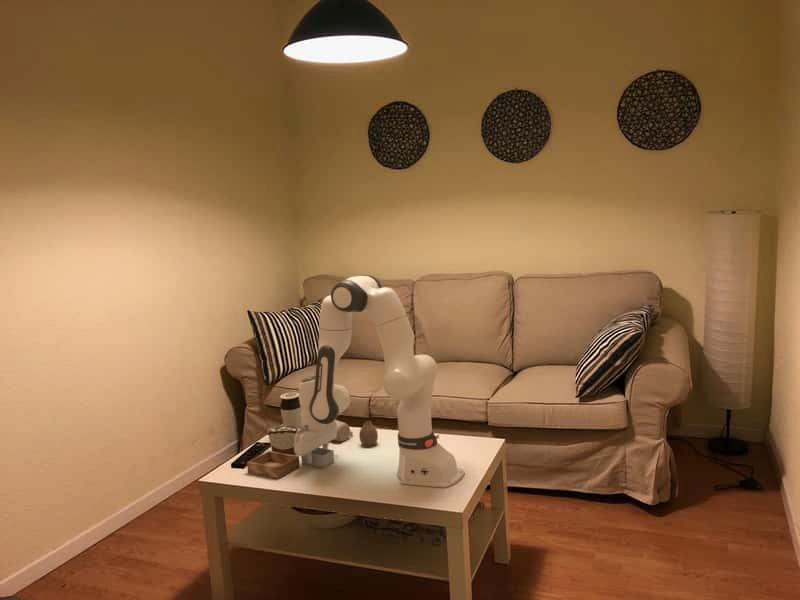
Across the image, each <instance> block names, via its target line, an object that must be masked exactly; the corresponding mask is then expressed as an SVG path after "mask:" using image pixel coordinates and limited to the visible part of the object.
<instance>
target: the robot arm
mask: <svg viewBox="0 0 800 600" xmlns="http://www.w3.org/2000/svg"><path fill="white" fill-rule="evenodd" d="M363 311H366V312H368V313H369V314H370V317H371V319H372V322H373V325H374V327H375V330H376V333H377V336H378V339H379V342H380V345H381V347H382V351H383V359H384V376H383V380H382V385H383V386H382V387H383V389H384V392H385V393H386V395H388V396H389V398H392V399H394V400H399V401H400V402H399V404H398V407H397V412H396V415H397V429H398V432H397V445H398V448H399V453H398V455H399V457H398V467H397V472H396V476H397V478H399V479H400V482H401V484H402V485H403V484H404V485H412V486H422V487H423V486H424V487H435V488H448V487H451V486H453V485H454V484H456V483H458V482H459V481H460V480H461V479H463V477H464V476H465V470H464V469H463V468H461V467H458V466H457V462H456V457H455V456H454V454H452V453H451V452H450V451H448V450H447V449H446V448H445V447H443V446H442V445H441V444H440V443H439V442H438V439H439V438H440V433H439V434H437V435H435V433H434V430H433V428H432V425H433V424H432V411H431V410H432V401H433V400H432V399H433V392H434V385H435V379H436V377H437V374H438V364H437V362H436V360H435V359H434V358H433V357H431V356H430V355H428V354H416V355H415V352H414V351H415V350H414V342H415V334H414V332H413V328H412V326H411V323H410V321H409V318H408V315H407V313H406V310H405V308H404V305H403V303H402V301H401V299H400V297H399V296H398V294H397V292H396V291H395V290H394V289H393V288H391V287H387V286H385V287H383V286H382V284H381V281H380V280H379V279H378V278H376V277H375V276H373V275H370V274H362V275H357V276H351V277H347V278H346V279H342V280H340V281H338V282H337V283H336V284H335V285H334V286H333V287H332V290H331V291H330V295H327V296H326V297H324V298H323V300H322V302H321V307H320V313H319V322H318V323H319V324H318V327H319V328H318V330H319V331H318V334H319V335H318V348H317V349H318V350H317V355H316V356H317V357H316V362H315V363H316V364H315V375H311V376H308V377H305V378H303V379H302V380H301V381H300V382H299V385H298V393H299V401H300V405H301V421H302V428H300V429H298V430H297V432H296V434H295V438H294V452H295V454H296V455H295V456H299V457H301V456H304V455H305V456H306V457H307V458H308V463H313V462H314V457H312V456H311V454H312V451H313V450H315V449H317V448H324V449H329V448H328V447H329V444H330V443H329V442H331V441H334V440H333V439H335V438H336V436H337V425H336V421H335V420H337V418H338V416H340V415H341V414H342V413H343V412H344V411H345V410H346V409H347V408H349V406H350V405H351V402H352V396H351V393H350V391H349V389H348V388H347V387H345V386H344V385H342V384H336V383H335V374H336V373H335V372H336V368H337V366H338V363H339V361H340V359H341V358H342V357H343V355H344V354H345V353H346V351H347V350H348V349H349V347H350V344H351V342H352V341H351V340H352V336H353V335H352V333H353V332H352V330H353V328H352V326H353V324H352V322H353V315H354V314H353V313H362V312H363Z"/></svg>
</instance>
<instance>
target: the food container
mask: <svg viewBox="0 0 800 600" xmlns="http://www.w3.org/2000/svg"><path fill="white" fill-rule="evenodd" d="M297 430H298V427H297V426H295V425H282V424H280V425H276V426H273V427H272V426H271V427H270V428H268V429H267V432H266V436H268V440H269V443H270V448H271V451H273V452H279V453H284V454H289V455H295V456H297V455H296V454H295V452H294V438H295V434H296V432H297Z"/></svg>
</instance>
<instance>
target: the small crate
mask: <svg viewBox="0 0 800 600" xmlns="http://www.w3.org/2000/svg"><path fill="white" fill-rule="evenodd" d="M334 453H335V452H334V449H329V448H328V449H324V448H322V447H319V448H317V449H315V450H313V451H312V454H311V456H312V457H314V462H313V463H308V458H307V457H306V456H305V455H304V456H300V457H301V465H304V466H310V467H314V468H320V469H326V468H327V467H329V466H331V465H332V464H334V463H335V455H334Z"/></svg>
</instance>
